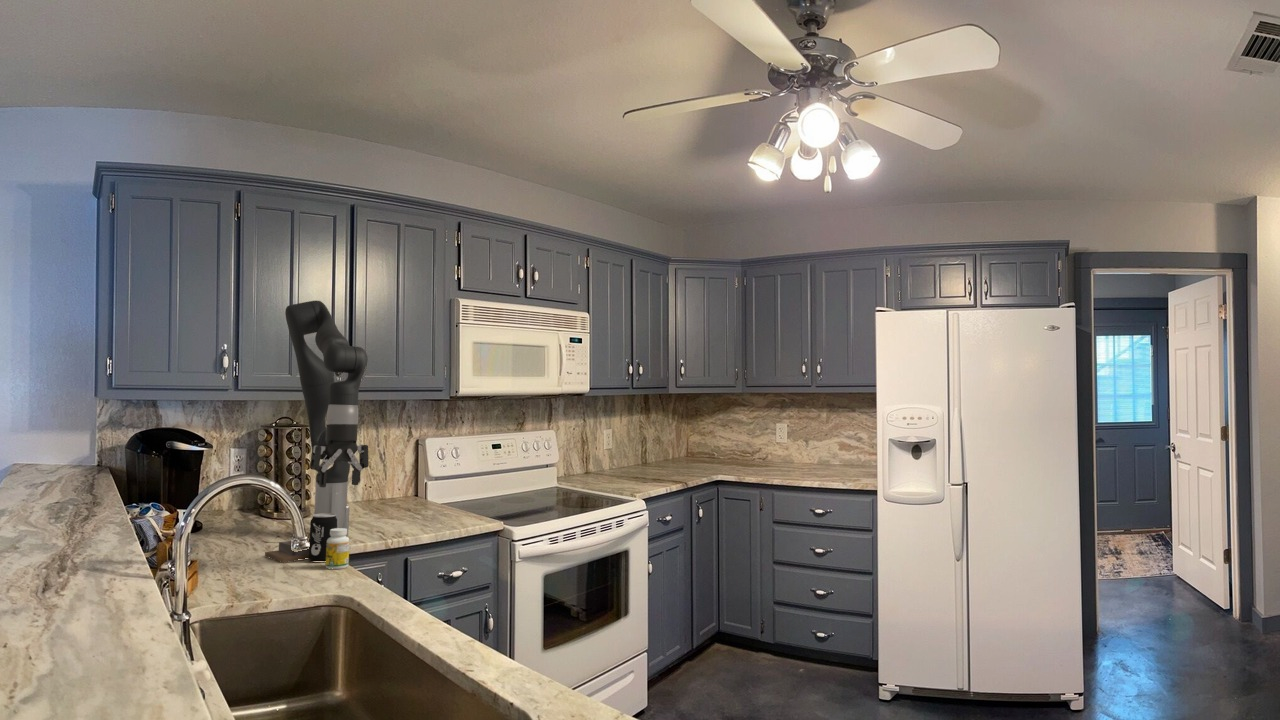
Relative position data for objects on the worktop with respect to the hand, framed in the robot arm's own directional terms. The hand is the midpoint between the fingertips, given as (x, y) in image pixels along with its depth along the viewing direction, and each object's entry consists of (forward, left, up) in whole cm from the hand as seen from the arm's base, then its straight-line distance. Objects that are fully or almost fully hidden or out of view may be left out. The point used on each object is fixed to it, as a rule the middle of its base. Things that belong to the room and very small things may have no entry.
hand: (338, 486), depth 180 cm
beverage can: (-2, -10, -21) cm, 23 cm away
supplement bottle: (0, 0, -21) cm, 21 cm away
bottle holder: (0, -20, -21) cm, 29 cm away
